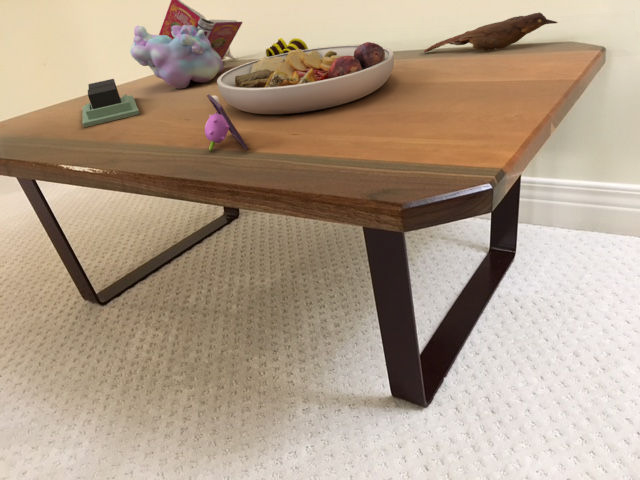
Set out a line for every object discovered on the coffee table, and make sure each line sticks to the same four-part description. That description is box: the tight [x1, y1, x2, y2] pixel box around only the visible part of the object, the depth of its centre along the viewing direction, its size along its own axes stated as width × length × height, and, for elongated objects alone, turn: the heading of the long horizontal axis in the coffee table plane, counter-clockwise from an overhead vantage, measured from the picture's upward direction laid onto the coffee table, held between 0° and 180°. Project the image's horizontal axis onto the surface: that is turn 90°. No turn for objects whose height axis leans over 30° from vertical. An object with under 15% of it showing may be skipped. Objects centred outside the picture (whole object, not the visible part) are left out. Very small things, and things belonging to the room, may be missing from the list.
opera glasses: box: [265, 37, 309, 57], centre depth 123 cm, size 10×5×5 cm, turn 43°
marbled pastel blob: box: [129, 0, 243, 90], centre depth 118 cm, size 20×22×18 cm
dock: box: [82, 78, 141, 128], centre depth 104 cm, size 10×16×5 cm, turn 22°
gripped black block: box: [87, 83, 121, 109], centre depth 102 cm, size 5×6×4 cm
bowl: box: [216, 41, 395, 115], centre depth 92 cm, size 30×30×8 cm
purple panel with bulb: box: [204, 93, 249, 152], centre depth 73 cm, size 7×5×9 cm
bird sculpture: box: [423, 12, 558, 54], centre depth 103 cm, size 7×25×5 cm, turn 68°
